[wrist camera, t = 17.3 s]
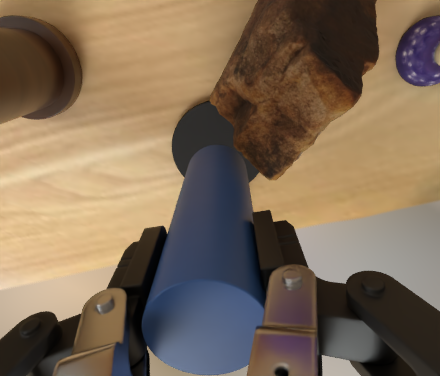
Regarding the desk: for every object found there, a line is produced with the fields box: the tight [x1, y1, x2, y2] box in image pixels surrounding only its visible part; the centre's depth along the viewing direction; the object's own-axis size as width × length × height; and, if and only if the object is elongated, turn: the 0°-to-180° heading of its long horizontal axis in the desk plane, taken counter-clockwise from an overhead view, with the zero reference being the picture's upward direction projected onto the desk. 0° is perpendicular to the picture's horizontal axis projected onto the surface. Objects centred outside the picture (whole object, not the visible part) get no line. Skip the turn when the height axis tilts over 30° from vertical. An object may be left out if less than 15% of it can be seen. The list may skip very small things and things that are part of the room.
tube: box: [142, 145, 266, 375], centre depth 15 cm, size 12×4×4 cm
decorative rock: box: [210, 0, 379, 180], centre depth 17 cm, size 12×6×11 cm, turn 146°
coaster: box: [172, 101, 259, 182], centre depth 24 cm, size 7×7×1 cm
